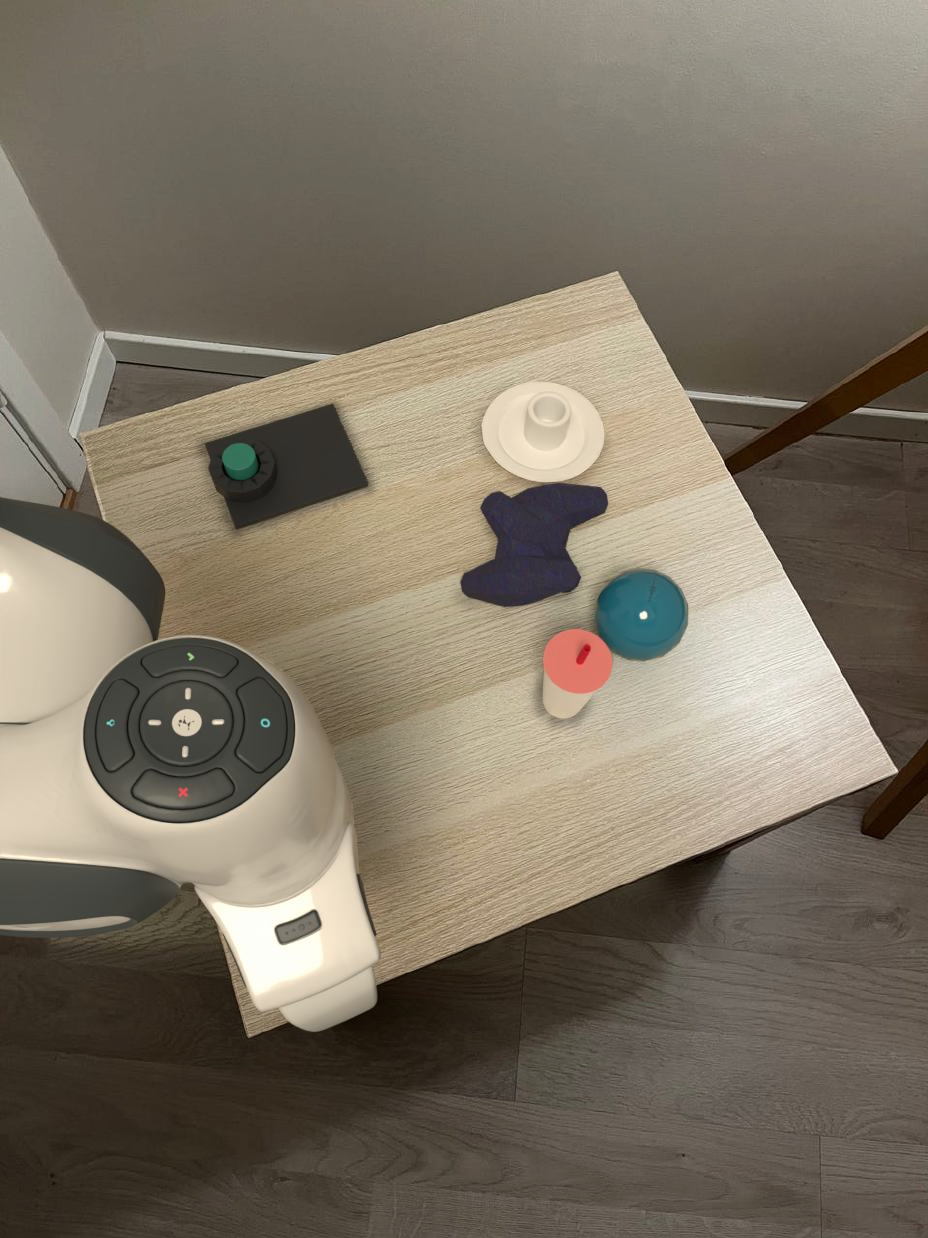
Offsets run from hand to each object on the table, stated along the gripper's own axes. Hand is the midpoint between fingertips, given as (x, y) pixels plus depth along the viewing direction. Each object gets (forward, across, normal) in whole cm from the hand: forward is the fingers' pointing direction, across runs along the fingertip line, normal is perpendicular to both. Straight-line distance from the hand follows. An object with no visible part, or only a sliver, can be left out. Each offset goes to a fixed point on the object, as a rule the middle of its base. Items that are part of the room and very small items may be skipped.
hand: (302, 865), depth 59 cm
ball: (+13, -11, +32) cm, 37 cm away
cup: (+13, -7, +24) cm, 28 cm away
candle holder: (+13, -33, +34) cm, 49 cm away
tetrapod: (+13, -20, +26) cm, 36 cm away
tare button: (+11, -39, +6) cm, 41 cm away
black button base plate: (+13, -39, +10) cm, 42 cm away
